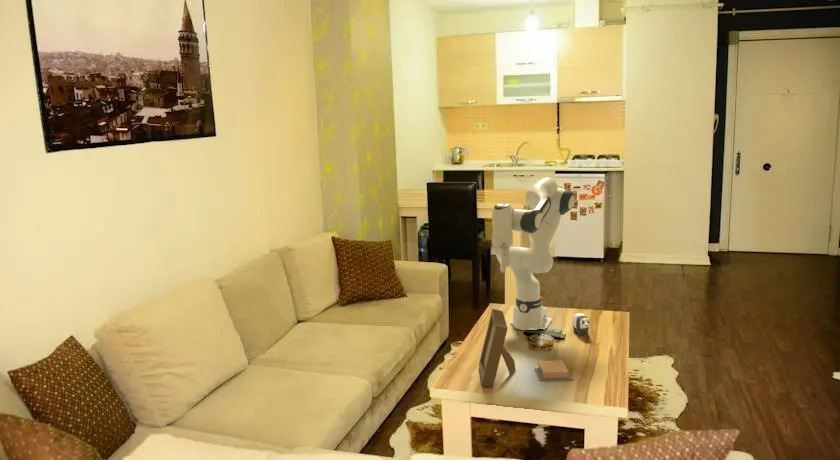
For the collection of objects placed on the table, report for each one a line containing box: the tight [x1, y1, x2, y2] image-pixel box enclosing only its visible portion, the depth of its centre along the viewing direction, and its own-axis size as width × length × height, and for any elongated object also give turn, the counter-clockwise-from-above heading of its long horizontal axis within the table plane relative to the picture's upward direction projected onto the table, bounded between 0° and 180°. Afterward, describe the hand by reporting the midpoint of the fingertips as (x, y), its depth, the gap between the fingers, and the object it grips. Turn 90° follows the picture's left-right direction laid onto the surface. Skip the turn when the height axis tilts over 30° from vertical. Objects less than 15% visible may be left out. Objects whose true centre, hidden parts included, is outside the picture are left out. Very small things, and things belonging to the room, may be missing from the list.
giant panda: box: [571, 312, 590, 336], centre depth 323 cm, size 15×6×10 cm, turn 4°
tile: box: [537, 359, 570, 379], centre depth 279 cm, size 10×2×12 cm
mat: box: [534, 366, 574, 382], centre depth 278 cm, size 12×13×1 cm
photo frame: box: [478, 308, 516, 388], centre depth 276 cm, size 15×22×25 cm
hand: (502, 271), depth 303 cm, fingers closed
